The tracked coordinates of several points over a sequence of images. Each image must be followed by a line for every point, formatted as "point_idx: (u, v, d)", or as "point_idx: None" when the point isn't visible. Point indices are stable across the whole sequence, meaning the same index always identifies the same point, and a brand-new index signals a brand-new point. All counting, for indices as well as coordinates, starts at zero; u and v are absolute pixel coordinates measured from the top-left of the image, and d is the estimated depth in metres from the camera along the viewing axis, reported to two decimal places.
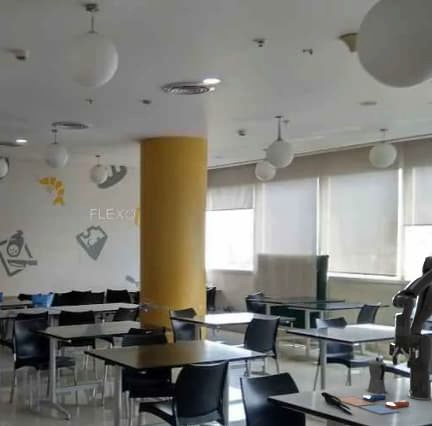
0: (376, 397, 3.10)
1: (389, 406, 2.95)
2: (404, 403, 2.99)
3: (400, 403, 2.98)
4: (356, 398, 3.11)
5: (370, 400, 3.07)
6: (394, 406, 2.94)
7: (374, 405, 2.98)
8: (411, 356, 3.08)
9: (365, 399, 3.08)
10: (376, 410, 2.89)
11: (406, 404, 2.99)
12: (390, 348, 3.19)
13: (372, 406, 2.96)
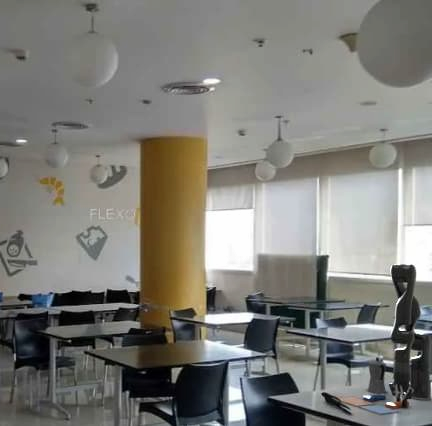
0: (376, 397, 3.10)
1: (389, 406, 2.95)
2: None
3: (400, 403, 2.98)
4: (356, 398, 3.11)
5: (370, 400, 3.07)
6: (394, 406, 2.94)
7: (374, 405, 2.98)
8: (407, 396, 2.95)
9: (365, 399, 3.08)
10: (376, 410, 2.89)
11: None
12: (391, 388, 3.04)
13: (372, 406, 2.96)
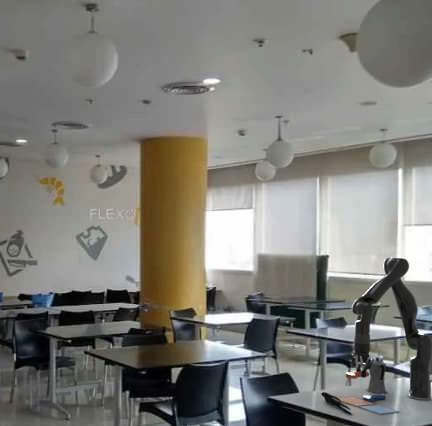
0: (376, 397, 3.10)
1: (349, 376, 3.02)
2: None
3: (360, 373, 3.05)
4: (356, 398, 3.11)
5: (370, 400, 3.07)
6: (353, 376, 3.01)
7: (374, 405, 2.98)
8: (366, 366, 3.02)
9: (365, 399, 3.08)
10: (376, 410, 2.89)
11: (366, 374, 3.06)
12: (352, 359, 3.11)
13: (372, 406, 2.96)
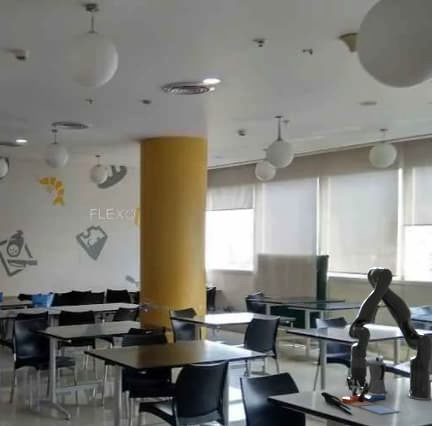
0: (376, 397, 3.10)
1: (345, 400, 3.02)
2: None
3: (356, 397, 3.05)
4: None
5: (370, 400, 3.07)
6: (350, 400, 3.01)
7: (374, 405, 2.98)
8: (364, 391, 3.01)
9: (365, 399, 3.08)
10: (376, 410, 2.89)
11: None
12: (348, 382, 3.11)
13: (372, 406, 2.96)
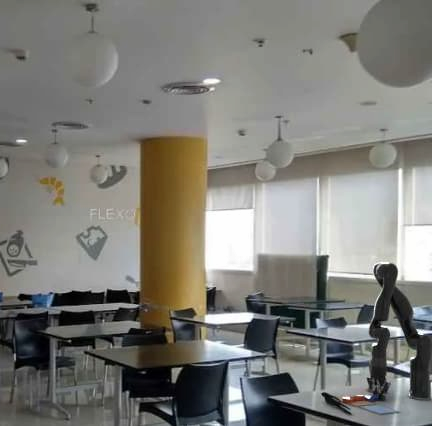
0: (376, 397, 3.10)
1: (345, 400, 3.02)
2: (360, 397, 3.06)
3: (356, 397, 3.05)
4: None
5: (370, 400, 3.07)
6: (350, 400, 3.01)
7: (374, 405, 2.98)
8: (383, 389, 3.08)
9: (365, 399, 3.08)
10: (376, 410, 2.89)
11: (362, 398, 3.06)
12: (368, 382, 3.17)
13: (372, 406, 2.96)
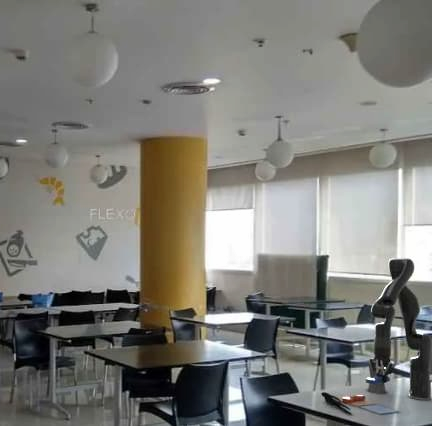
0: (380, 379, 2.93)
1: (345, 400, 3.02)
2: (360, 397, 3.06)
3: (356, 397, 3.05)
4: None
5: (373, 382, 2.90)
6: (350, 400, 3.01)
7: (374, 405, 2.98)
8: (387, 371, 2.91)
9: (368, 381, 2.91)
10: (376, 410, 2.89)
11: (362, 398, 3.06)
12: (371, 364, 2.99)
13: (372, 406, 2.96)
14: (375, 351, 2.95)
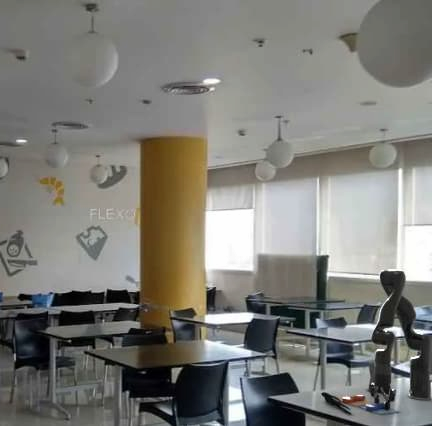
0: (380, 406, 2.91)
1: (345, 400, 3.02)
2: (360, 397, 3.06)
3: (356, 397, 3.05)
4: None
5: (373, 409, 2.87)
6: (350, 400, 3.01)
7: None
8: (390, 398, 2.88)
9: (368, 408, 2.89)
10: None
11: (362, 398, 3.06)
12: (371, 389, 2.98)
13: None
14: (375, 378, 2.93)
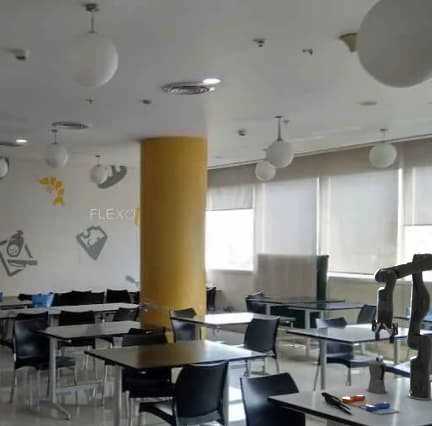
0: (380, 406, 2.91)
1: (345, 400, 3.02)
2: (360, 397, 3.06)
3: (356, 397, 3.05)
4: None
5: (373, 409, 2.87)
6: (350, 400, 3.01)
7: None
8: (393, 331, 3.01)
9: (368, 408, 2.89)
10: None
11: (362, 398, 3.06)
12: (372, 324, 3.13)
13: None
14: (378, 314, 3.07)
